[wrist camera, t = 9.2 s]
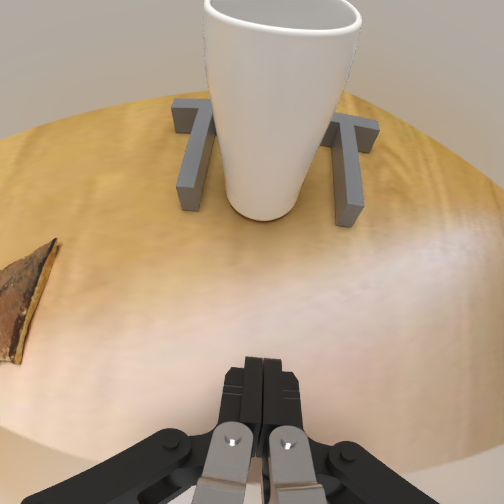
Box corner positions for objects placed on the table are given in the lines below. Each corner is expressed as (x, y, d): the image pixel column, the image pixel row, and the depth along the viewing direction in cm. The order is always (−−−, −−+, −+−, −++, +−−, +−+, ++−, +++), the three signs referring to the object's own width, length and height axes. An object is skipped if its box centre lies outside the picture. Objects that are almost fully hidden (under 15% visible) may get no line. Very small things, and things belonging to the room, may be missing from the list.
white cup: (207, 168, 24) (190, -15, 11) (288, 152, 25) (320, -20, 12) (229, 244, 22) (221, 40, 8) (320, 221, 23) (396, 38, 9)
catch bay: (367, 143, 26) (377, 120, 24) (379, 230, 23) (394, 211, 20) (179, 123, 26) (174, 98, 24) (153, 207, 23) (143, 184, 20)
